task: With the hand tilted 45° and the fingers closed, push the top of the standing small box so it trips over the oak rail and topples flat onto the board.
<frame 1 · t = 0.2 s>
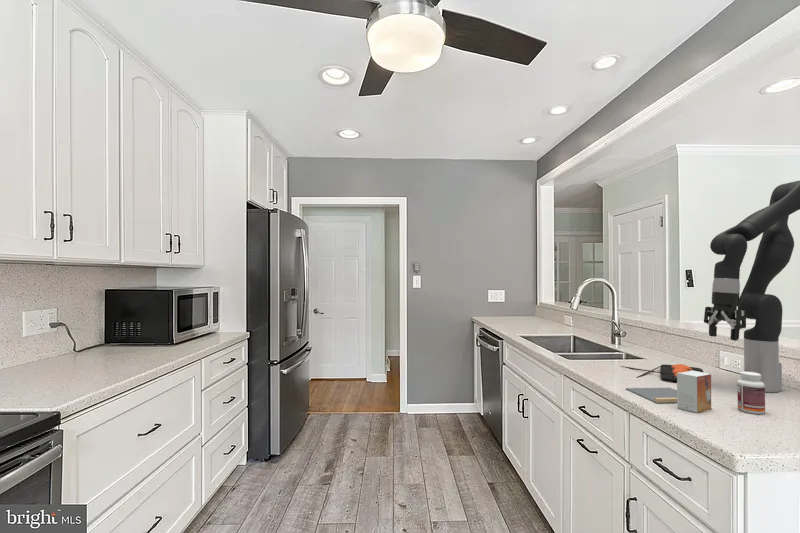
hand: (723, 338, 144), 18 cm above the countertop, tool pointing down, fingers open, 8 cm apart
sushi plate: (659, 375, 167), on the countertop
small box: (694, 409, 123), on the countertop
board: (663, 395, 136), on the countertop
pill bottle: (751, 411, 121), on the countertop
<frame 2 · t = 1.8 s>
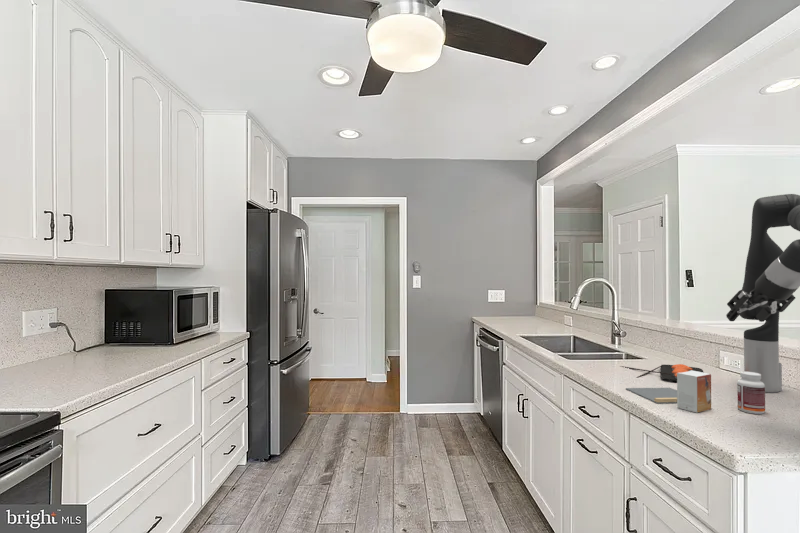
hand: (744, 319, 115), 27 cm above the countertop, tool tilted 45°, fingers open, 8 cm apart
nothing on the countertop moved.
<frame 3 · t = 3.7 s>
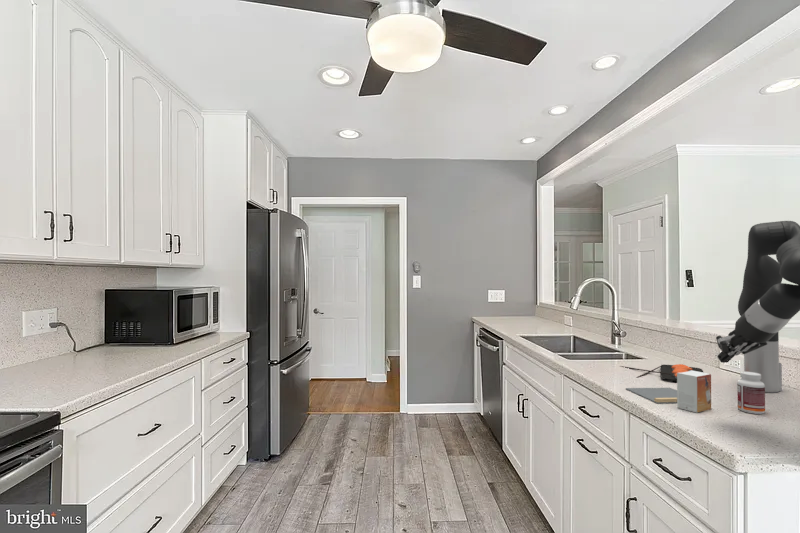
hand: (721, 359, 114), 16 cm above the countertop, tool tilted 45°, fingers closed
nothing on the countertop moved.
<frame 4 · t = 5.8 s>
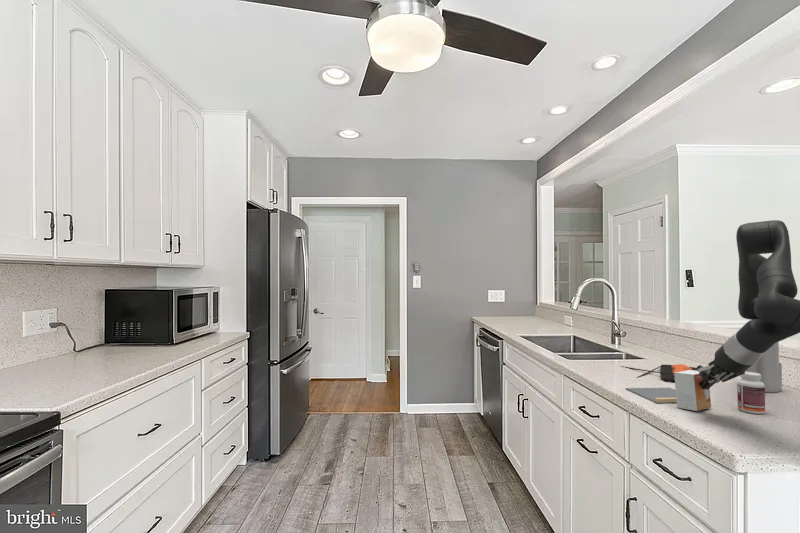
hand: (703, 386, 120), 7 cm above the countertop, tool tilted 45°, fingers closed
nothing on the countertop moved.
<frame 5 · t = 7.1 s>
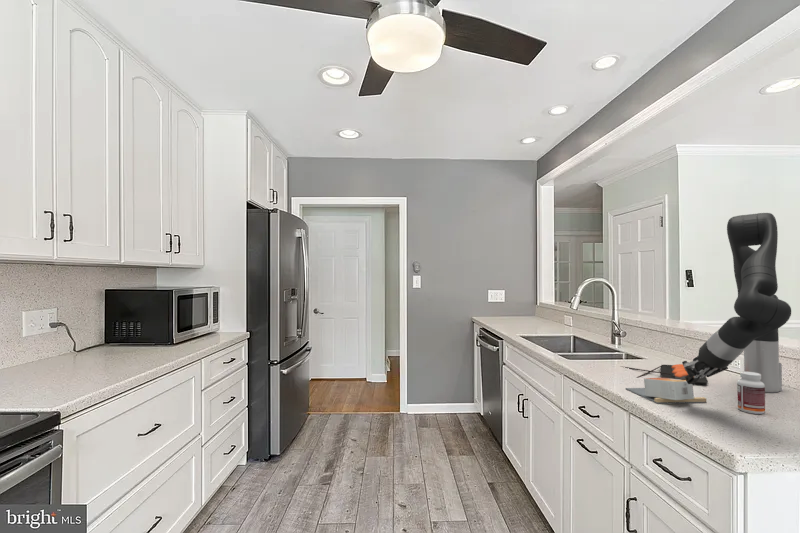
hand: (688, 381, 125), 7 cm above the countertop, tool tilted 45°, fingers closed
small box: (685, 390, 125), point 5 cm above the countertop, touching board
everything else where it was.
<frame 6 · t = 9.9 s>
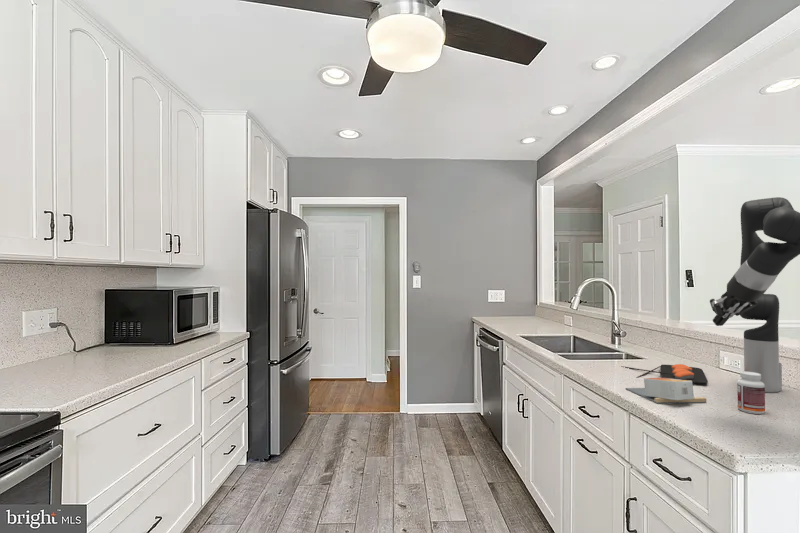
hand: (716, 323, 118), 26 cm above the countertop, tool tilted 45°, fingers closed
nothing on the countertop moved.
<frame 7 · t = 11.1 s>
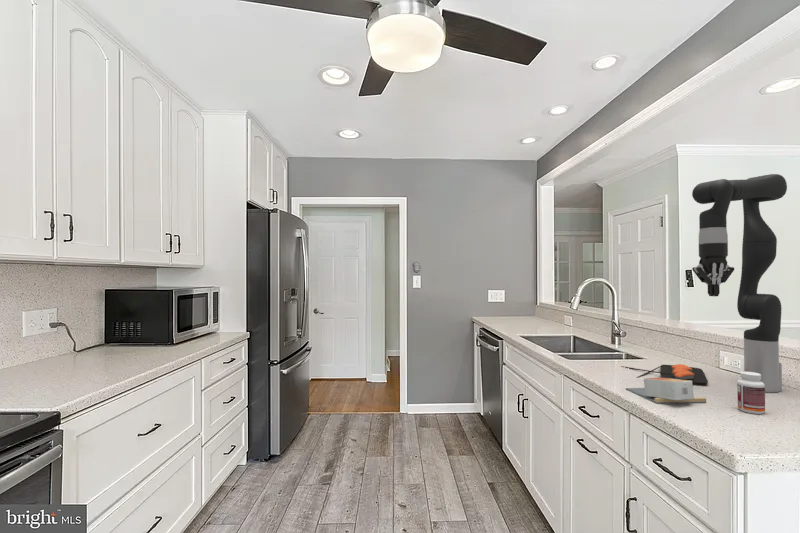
hand: (713, 296, 134), 33 cm above the countertop, tool pointing down, fingers closed
nothing on the countertop moved.
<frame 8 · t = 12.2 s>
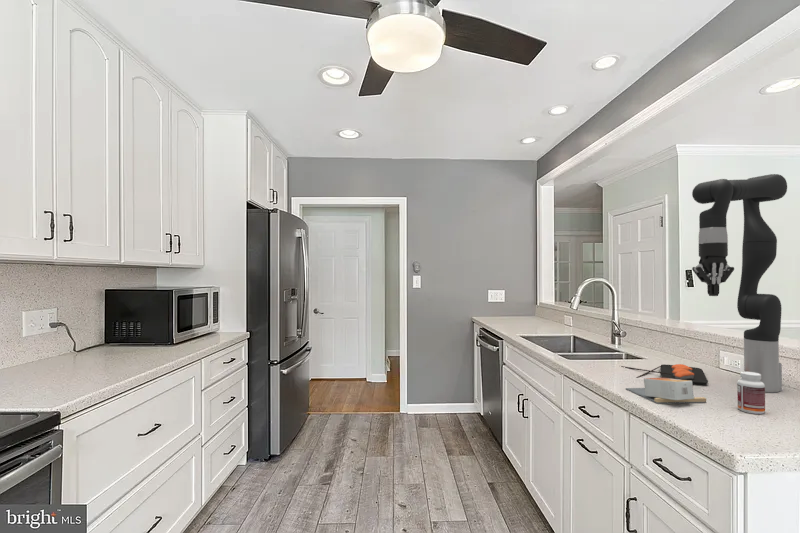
hand: (713, 295, 134), 33 cm above the countertop, tool pointing down, fingers closed
nothing on the countertop moved.
at the end: small box tilted 98°; small box inside the target area (9.6 cm from its centre), point 4.8 cm above the countertop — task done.
